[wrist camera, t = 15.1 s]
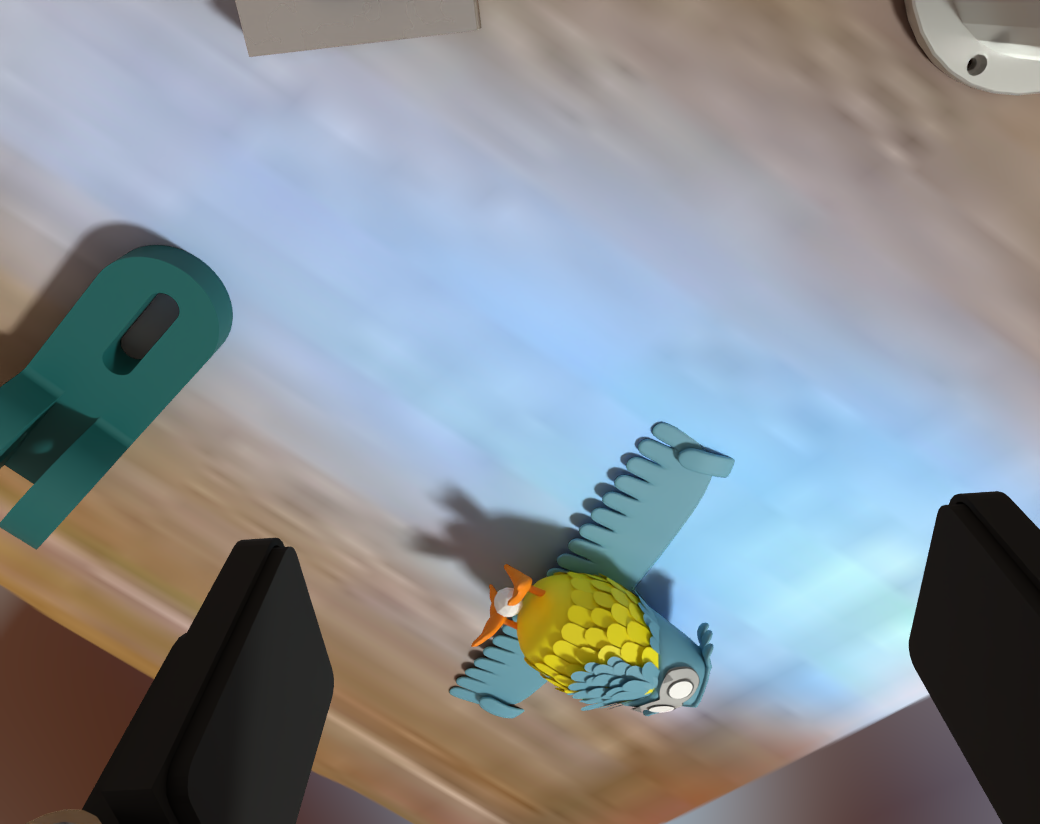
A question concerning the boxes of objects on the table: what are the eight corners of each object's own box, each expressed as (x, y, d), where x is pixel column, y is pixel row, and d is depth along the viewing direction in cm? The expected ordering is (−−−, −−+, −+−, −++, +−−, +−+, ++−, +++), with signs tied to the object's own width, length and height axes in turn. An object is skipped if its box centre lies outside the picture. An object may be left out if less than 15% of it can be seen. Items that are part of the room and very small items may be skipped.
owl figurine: (630, 471, 36) (862, 586, 40) (611, 387, 44) (808, 491, 48) (388, 779, 48) (584, 845, 52) (405, 672, 56) (576, 737, 60)
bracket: (91, 487, 48) (17, 570, 41) (-8, 422, 45) (-104, 498, 39) (258, 304, 41) (203, 366, 35) (153, 217, 39) (72, 265, 32)
